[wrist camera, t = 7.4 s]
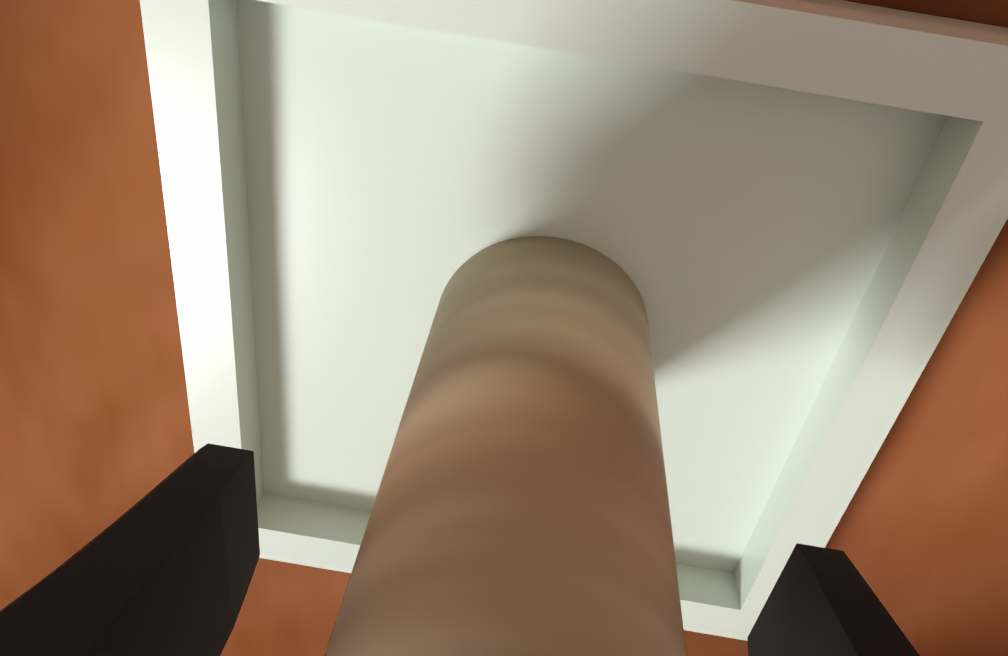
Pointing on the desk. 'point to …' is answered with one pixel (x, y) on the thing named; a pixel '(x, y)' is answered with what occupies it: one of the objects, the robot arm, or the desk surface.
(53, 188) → the desk surface
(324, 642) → the desk surface
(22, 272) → the desk surface
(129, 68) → the desk surface
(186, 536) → the robot arm
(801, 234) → the tray
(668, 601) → the peg
